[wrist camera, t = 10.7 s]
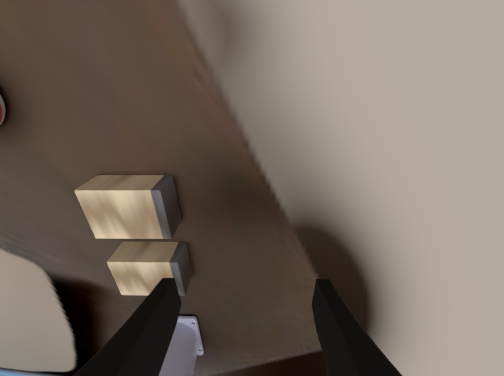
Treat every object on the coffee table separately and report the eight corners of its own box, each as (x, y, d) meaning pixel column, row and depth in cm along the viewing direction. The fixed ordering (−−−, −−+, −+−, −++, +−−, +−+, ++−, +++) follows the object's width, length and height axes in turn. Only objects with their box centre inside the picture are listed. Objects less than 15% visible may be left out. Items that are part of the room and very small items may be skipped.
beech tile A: (185, 295, 23) (121, 295, 23) (192, 273, 26) (135, 272, 26) (177, 262, 21) (106, 262, 21) (186, 241, 24) (123, 240, 24)
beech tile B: (171, 238, 19) (95, 238, 20) (181, 219, 22) (115, 218, 22) (160, 190, 17) (74, 190, 17) (173, 174, 20) (98, 174, 20)
